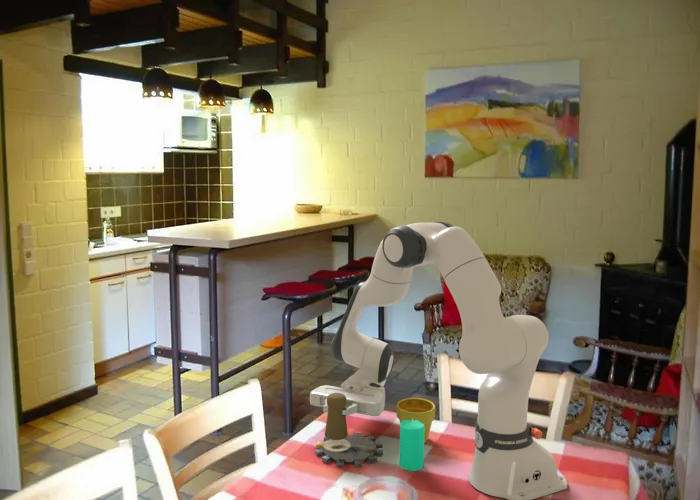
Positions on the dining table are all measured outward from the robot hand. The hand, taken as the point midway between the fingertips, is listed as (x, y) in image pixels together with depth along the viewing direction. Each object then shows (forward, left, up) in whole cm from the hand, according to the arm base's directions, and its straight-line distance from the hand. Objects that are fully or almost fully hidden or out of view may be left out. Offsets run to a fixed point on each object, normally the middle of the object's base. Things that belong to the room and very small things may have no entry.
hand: (335, 411), depth 155 cm
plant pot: (-23, -1, -11) cm, 25 cm away
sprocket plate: (-4, +1, -11) cm, 11 cm away
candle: (-17, +12, -11) cm, 23 cm away
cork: (0, -1, -7) cm, 7 cm away
